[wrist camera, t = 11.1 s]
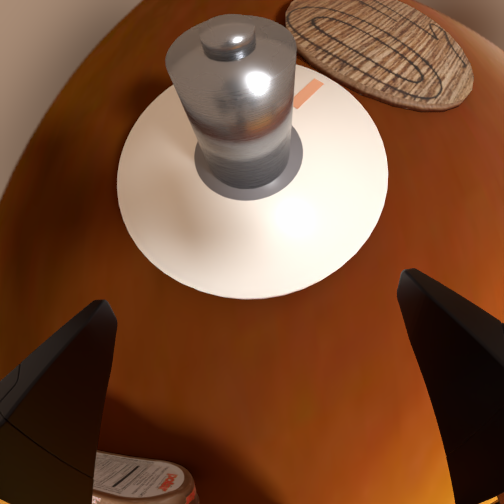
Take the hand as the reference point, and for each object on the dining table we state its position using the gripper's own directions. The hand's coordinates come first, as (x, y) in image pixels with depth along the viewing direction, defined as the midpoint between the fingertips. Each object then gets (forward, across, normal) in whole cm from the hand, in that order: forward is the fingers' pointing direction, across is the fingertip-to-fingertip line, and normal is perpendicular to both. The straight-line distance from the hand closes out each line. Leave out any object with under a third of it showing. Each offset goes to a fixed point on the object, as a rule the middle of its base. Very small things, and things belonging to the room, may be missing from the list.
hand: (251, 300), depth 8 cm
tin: (0, +13, +19) cm, 23 cm away
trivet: (+31, -18, -11) cm, 37 cm away
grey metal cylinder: (+15, 0, 0) cm, 15 cm away
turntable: (+17, 0, +1) cm, 17 cm away
